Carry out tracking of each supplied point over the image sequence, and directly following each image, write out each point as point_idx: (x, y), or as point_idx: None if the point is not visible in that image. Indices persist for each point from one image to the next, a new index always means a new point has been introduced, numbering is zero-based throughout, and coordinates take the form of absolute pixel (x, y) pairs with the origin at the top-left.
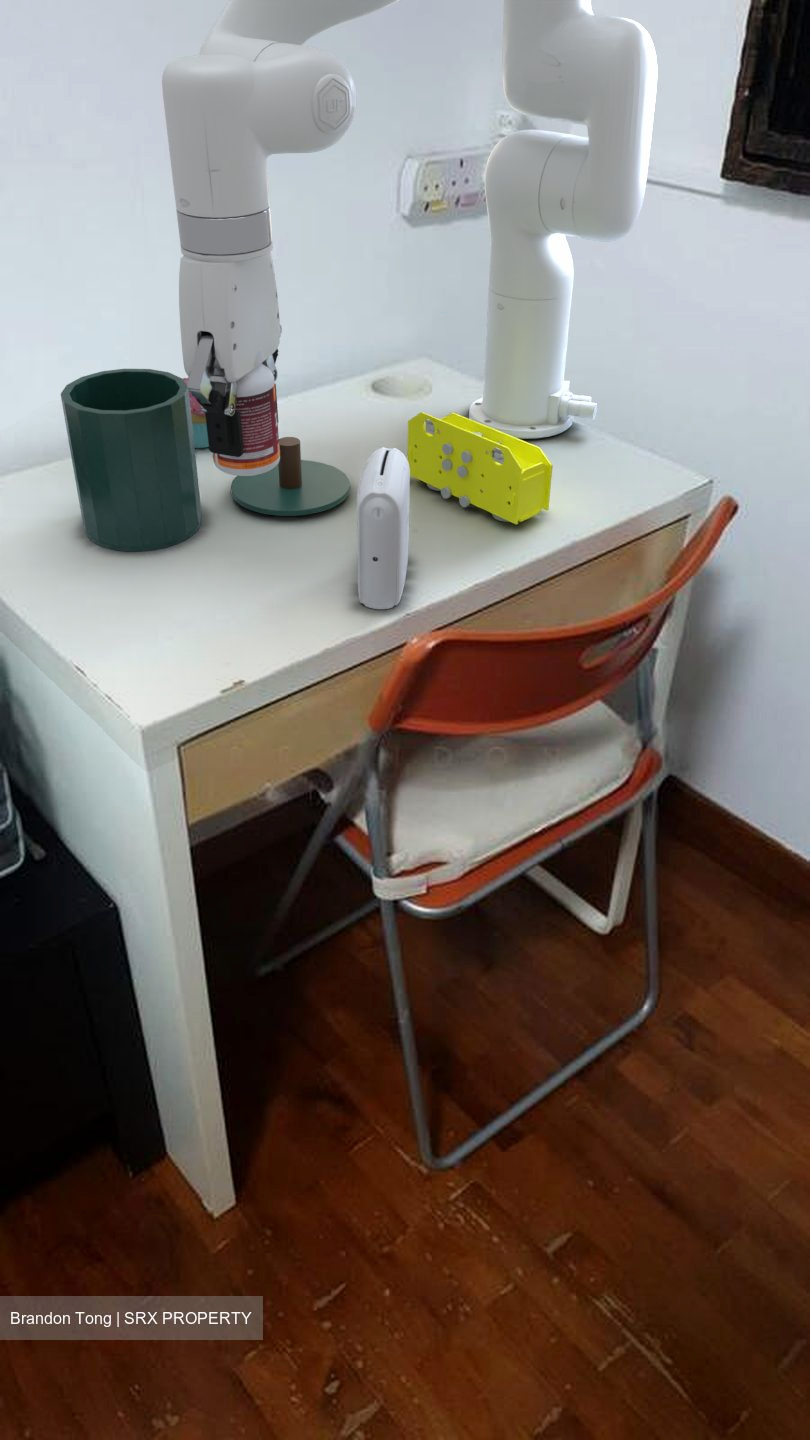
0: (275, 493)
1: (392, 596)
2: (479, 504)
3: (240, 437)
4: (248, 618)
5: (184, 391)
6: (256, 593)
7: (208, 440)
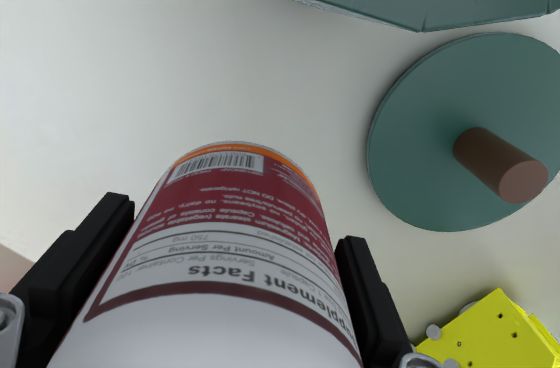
0: (435, 129)
1: None
2: None
3: None
4: (63, 167)
5: (476, 16)
6: (133, 161)
7: (93, 208)
